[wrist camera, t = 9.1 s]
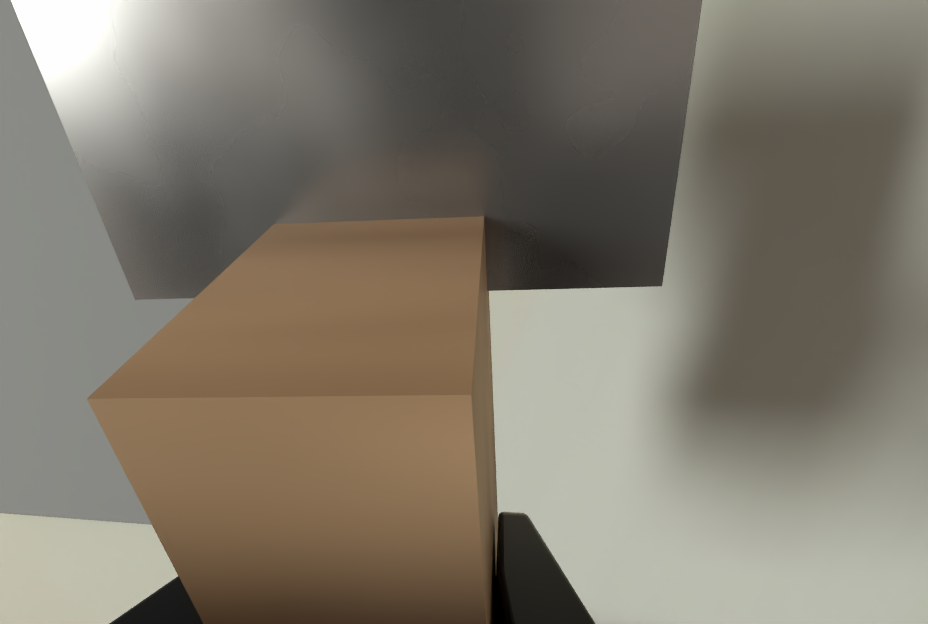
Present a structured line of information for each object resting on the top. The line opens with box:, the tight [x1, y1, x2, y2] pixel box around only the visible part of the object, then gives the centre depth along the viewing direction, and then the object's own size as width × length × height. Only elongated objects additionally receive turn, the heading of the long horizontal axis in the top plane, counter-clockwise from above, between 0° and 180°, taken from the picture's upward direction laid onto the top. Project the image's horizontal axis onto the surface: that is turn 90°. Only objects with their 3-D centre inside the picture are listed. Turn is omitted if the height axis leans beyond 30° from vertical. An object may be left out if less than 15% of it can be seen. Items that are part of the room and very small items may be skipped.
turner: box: [11, 0, 702, 624], centre depth 6 cm, size 14×7×4 cm, turn 3°
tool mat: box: [0, 0, 194, 525], centre depth 18 cm, size 22×13×1 cm, turn 179°
